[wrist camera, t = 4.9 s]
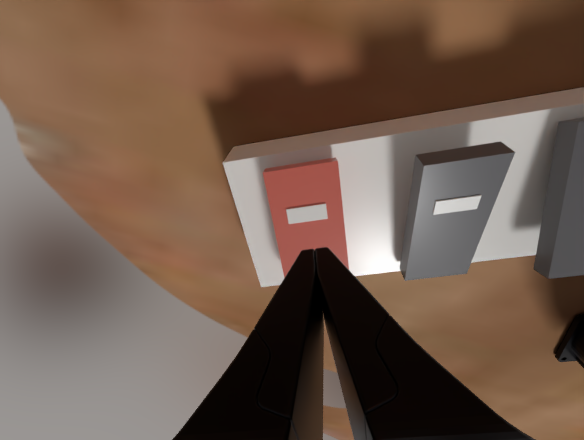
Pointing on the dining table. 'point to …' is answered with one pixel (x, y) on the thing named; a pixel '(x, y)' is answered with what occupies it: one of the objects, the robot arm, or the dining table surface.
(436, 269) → the rocker middle
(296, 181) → the rocker red
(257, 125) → the dining table surface
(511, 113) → the power strip
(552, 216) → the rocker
